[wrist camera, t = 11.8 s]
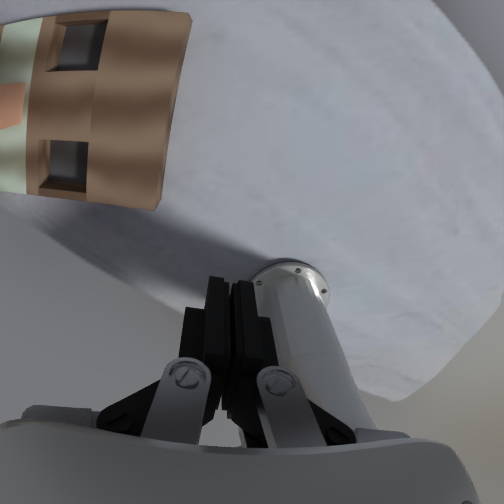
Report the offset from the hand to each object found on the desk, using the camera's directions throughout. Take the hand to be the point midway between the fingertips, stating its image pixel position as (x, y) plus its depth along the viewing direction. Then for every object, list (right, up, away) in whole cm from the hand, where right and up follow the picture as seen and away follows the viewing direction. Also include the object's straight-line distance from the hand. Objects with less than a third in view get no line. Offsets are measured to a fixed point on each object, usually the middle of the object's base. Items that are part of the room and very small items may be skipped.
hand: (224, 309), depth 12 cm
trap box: (-19, +20, +18) cm, 33 cm away
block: (-28, +20, +13) cm, 37 cm away
